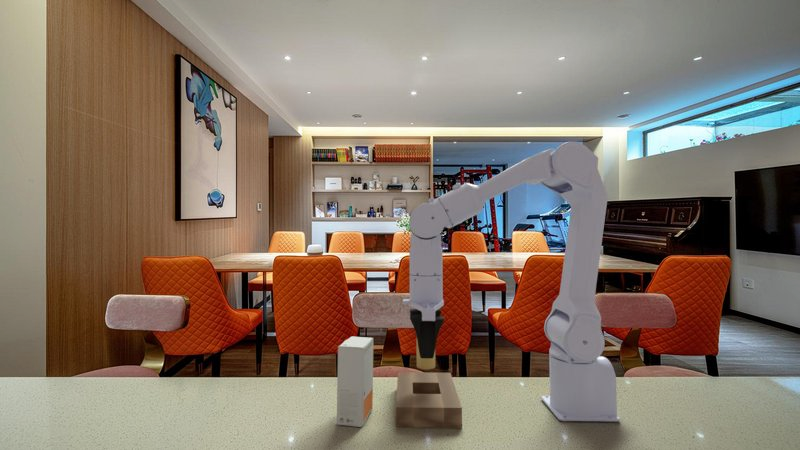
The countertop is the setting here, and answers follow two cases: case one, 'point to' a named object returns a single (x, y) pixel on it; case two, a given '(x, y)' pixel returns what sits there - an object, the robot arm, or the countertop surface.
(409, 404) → the socket block
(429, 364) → the peg
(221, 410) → the countertop surface
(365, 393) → the skincare box
